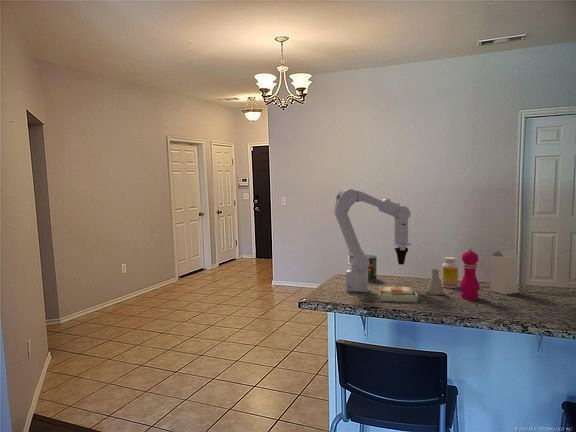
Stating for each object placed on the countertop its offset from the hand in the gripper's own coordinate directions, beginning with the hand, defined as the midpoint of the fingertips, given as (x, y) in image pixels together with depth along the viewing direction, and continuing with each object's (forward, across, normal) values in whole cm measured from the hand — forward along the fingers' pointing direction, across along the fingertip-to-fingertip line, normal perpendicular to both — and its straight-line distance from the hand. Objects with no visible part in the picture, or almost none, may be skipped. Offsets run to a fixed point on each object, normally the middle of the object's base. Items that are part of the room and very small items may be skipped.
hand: (401, 264), depth 181 cm
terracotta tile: (+8, -20, +4) cm, 21 cm away
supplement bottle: (+11, +4, -21) cm, 24 cm away
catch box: (+10, -20, +3) cm, 23 cm away
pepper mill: (+11, -14, -25) cm, 30 cm away
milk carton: (+11, -3, -41) cm, 42 cm away
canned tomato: (+11, +16, +14) cm, 24 cm away
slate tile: (+10, -19, -1) cm, 22 cm away
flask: (+11, -8, -13) cm, 19 cm away
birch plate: (+10, -13, +3) cm, 17 cm away
